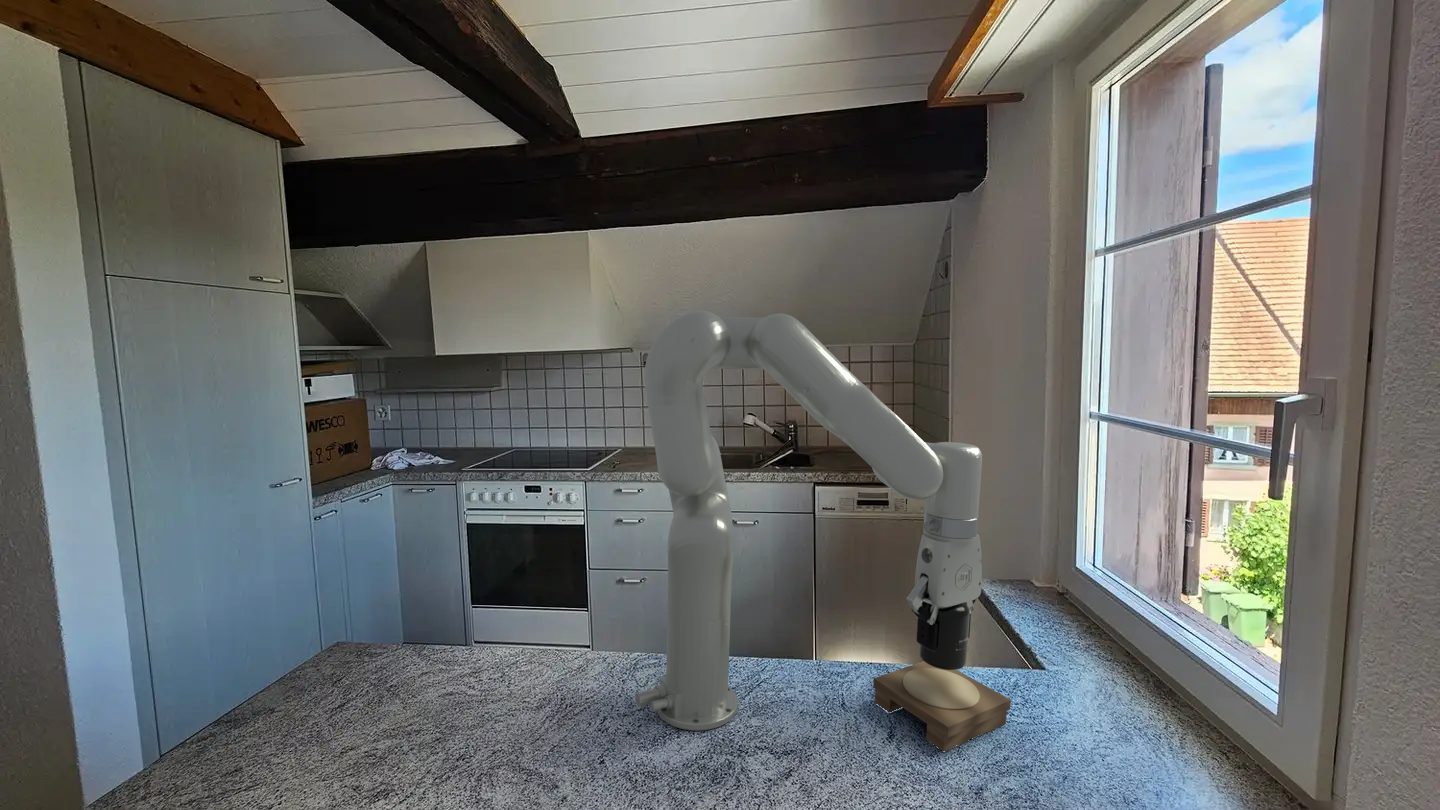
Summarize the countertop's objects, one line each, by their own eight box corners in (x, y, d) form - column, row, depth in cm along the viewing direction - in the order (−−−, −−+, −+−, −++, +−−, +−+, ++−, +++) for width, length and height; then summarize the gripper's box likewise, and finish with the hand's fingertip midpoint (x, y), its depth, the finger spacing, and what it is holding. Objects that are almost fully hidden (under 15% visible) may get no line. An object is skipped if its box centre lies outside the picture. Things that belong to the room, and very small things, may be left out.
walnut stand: (946, 755, 81) (948, 725, 81) (872, 702, 93) (873, 676, 93) (1009, 725, 88) (1011, 697, 88) (932, 680, 100) (934, 655, 100)
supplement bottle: (970, 674, 86) (976, 594, 85) (921, 668, 87) (926, 589, 86) (961, 651, 93) (966, 577, 92) (916, 646, 94) (920, 573, 93)
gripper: (931, 540, 81) (923, 665, 82) (1009, 525, 90) (1001, 638, 91) (889, 525, 87) (883, 642, 89) (966, 513, 96) (959, 619, 98)
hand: (943, 639), depth 90 cm, fingers closed on supplement bottle, 6 cm apart
